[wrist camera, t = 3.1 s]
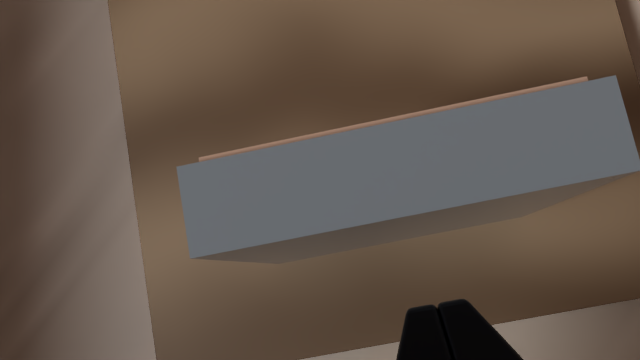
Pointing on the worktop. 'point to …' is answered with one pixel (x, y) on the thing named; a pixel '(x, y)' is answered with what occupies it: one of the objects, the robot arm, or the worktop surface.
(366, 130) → the tile
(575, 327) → the worktop surface
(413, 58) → the board
